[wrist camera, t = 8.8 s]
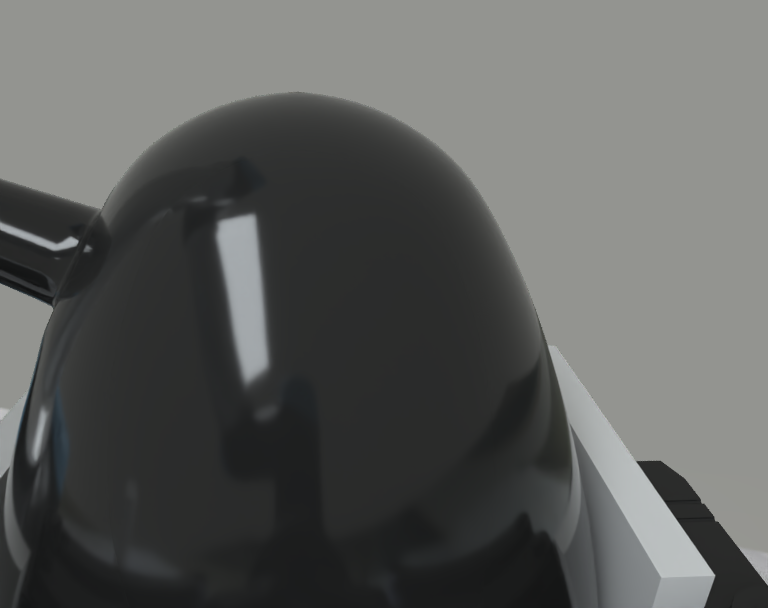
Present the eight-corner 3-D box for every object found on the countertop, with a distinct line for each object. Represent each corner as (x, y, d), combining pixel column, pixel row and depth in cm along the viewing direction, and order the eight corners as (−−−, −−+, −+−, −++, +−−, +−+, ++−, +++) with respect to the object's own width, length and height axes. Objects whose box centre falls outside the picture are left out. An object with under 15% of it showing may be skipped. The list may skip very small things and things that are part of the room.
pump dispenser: (149, 615, 18) (45, 61, 12) (498, 611, 18) (577, 76, 12) (-83, 1251, 8) (-1247, 171, 2) (640, 1213, 9) (1321, 217, 3)
